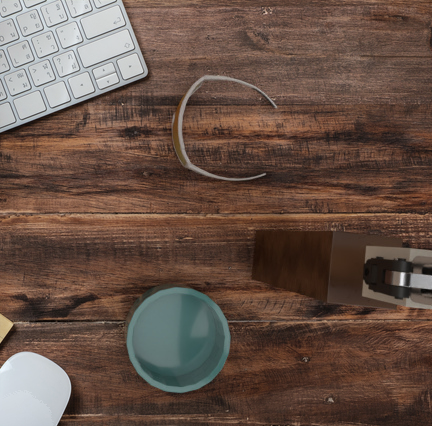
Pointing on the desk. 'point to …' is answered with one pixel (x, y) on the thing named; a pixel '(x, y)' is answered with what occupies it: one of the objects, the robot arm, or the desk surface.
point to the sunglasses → (179, 117)
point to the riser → (318, 264)
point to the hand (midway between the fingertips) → (398, 274)
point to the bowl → (176, 338)
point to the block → (391, 254)
